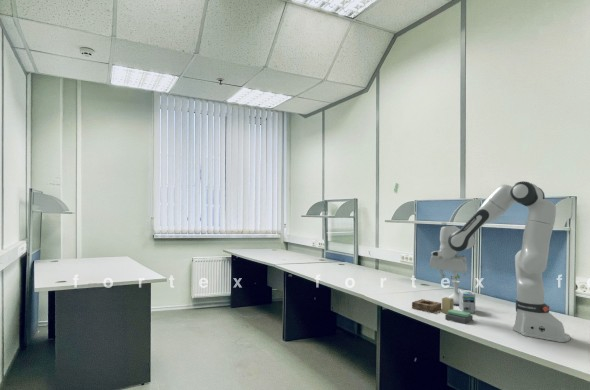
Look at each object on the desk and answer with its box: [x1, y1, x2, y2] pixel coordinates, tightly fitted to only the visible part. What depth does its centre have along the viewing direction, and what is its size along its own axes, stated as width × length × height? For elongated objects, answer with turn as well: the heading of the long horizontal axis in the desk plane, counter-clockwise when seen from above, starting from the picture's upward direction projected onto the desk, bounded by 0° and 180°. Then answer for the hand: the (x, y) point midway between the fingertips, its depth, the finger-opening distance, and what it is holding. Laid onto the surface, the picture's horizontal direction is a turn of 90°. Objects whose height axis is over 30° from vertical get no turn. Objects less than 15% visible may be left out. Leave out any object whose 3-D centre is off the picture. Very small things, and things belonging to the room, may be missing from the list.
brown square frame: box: [411, 298, 442, 313], centre depth 217 cm, size 12×12×4 cm
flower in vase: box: [447, 272, 466, 306], centre depth 232 cm, size 13×11×25 cm
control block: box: [445, 313, 474, 325], centre depth 196 cm, size 10×10×2 cm
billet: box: [441, 296, 455, 315], centre depth 209 cm, size 4×4×8 cm
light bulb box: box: [458, 289, 476, 314], centre depth 215 cm, size 11×7×11 cm, turn 168°
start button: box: [447, 308, 472, 317], centre depth 196 cm, size 10×6×3 cm, turn 44°
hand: (447, 278), depth 210 cm, fingers open, 4 cm apart
